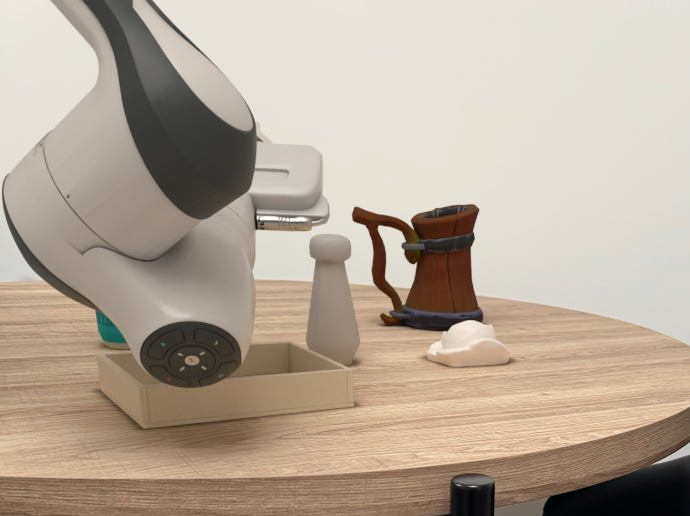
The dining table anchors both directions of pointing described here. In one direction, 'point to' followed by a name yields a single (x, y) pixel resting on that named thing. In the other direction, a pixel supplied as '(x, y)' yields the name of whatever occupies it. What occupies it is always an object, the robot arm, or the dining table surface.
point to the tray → (231, 387)
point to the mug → (429, 266)
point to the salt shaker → (332, 301)
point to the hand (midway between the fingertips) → (204, 127)
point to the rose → (469, 346)
